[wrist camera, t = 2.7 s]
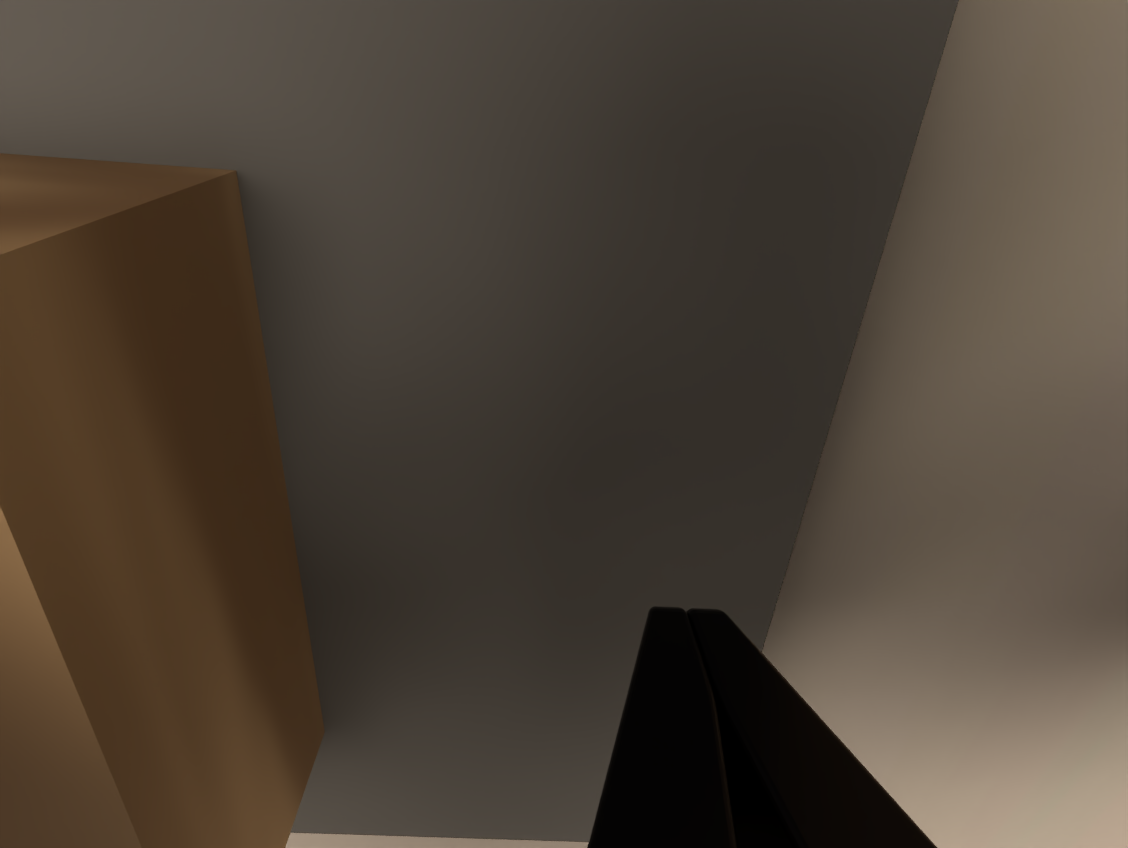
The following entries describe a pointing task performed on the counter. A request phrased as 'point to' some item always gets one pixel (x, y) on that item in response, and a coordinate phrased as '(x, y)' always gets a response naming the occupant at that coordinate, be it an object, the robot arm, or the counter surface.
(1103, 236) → the counter surface
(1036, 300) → the counter surface
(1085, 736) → the counter surface
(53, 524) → the t block
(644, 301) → the mat
